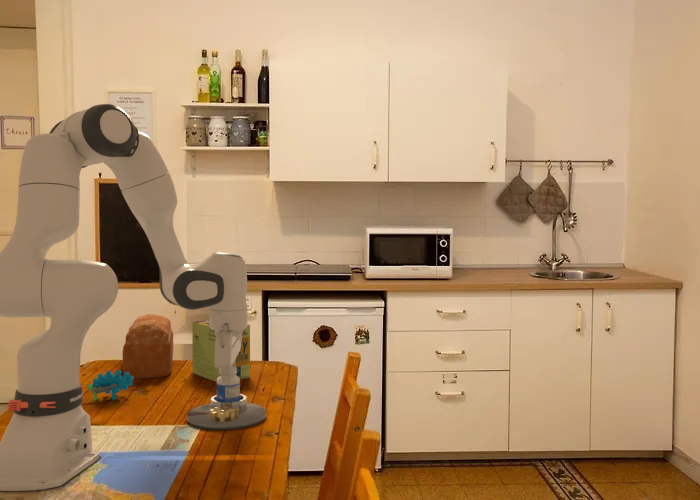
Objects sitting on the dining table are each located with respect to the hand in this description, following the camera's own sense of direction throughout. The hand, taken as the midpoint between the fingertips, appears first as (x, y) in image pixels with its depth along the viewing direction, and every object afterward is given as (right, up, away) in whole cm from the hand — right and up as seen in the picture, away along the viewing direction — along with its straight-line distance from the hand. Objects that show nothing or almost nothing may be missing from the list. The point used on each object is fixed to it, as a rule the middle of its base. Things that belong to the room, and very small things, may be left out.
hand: (228, 378), depth 162 cm
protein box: (-9, -6, +38) cm, 39 cm away
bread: (-32, -6, +46) cm, 57 cm away
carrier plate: (0, -9, -3) cm, 9 cm away
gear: (-32, -8, +15) cm, 36 cm away
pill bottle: (0, -7, 0) cm, 7 cm away
